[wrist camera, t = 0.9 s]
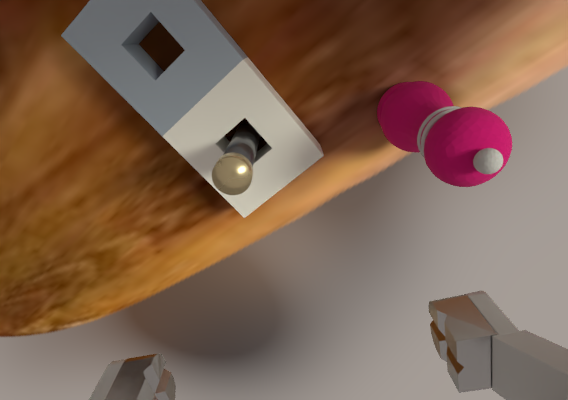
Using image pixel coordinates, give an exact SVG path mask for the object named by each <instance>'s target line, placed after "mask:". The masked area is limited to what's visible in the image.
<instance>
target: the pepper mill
mask: <svg viewBox="0 0 568 400" xmlns="http://www.w3.org/2000/svg"><path fill="white" fill-rule="evenodd" d="M377 117H378V121H379V124H380V126H381V127H382V130H383V133H384V135H385V137H386V138H387V139H388V141H389V142H390V143H391V144H393V145H394V146H396V147H398V148H399V149H402V150H404V151H408V152H421V154H422V156H423V157H424V158H425V161H426V164H427V166H428V167H429V169H430V170H431V172H432V173H433V174H434V175H435V176H436V177H437V178H439V179H440V180H442V181H444V182H446V183H448V184H451V185H454V186H459V187H470V186H476V185H479V184H482V183H484V182H486V181H488V180H490V179H492V178H493V177H494V176H496V175H497V174H498V173H499V172H500V171H501V170H502V169H503V167H504V166H505V165H506V163H507V161H508V158H509V156H510V153H511V150H512V138H511V134H510V132H509V129H508V127H507V126H506V124H505V123H504V121H503V120H502V119H501V118H500V117H498V116H497V115H496V114H494V113H492V112H491V111H488V110H485V109H482V108H478V107H465V108H461V107H457V106H453V103H452V101H451V99H450V97H449V96H448V95H447V93H446V92H445V91H444V90H442V89H441V88H440V87H438V86H437V85H434V84H432V83H429V82H424V81H417V82H403V83H399V84H396V85H394V86H393V87H391V88H390V89H388V90H387V91H386V92H385V94H384V95H383V96H382V98H381V99H380V101H379V104H378V108H377Z"/></svg>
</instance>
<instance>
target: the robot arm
mask: <svg viewBox="0 0 568 400" xmlns="http://www.w3.org/2000/svg"><path fill="white" fill-rule="evenodd" d="M429 313H430V315H431V317H432V318H433V321H432V322H431V324H430V327H431V334H432V338H433V342H434V344H435V347H436V350H437V352H438V354H439V356H440V358H441V359H443V360H445V361H446V362H447V367H448V373H449V375H450V377H451V378H452V380H453V382H454V384H455V386H456V388H457V389H458V391H459V392H467V391H474V390H481V389H489V388H492V390H493V391H495V392H496V393H498V394H499V395H500V396H502V397H503V398H504V399H506V400H568V349H566V348H564V347H562V346H559V345H557V344H555V343H553V342H550V341H548V340H546V339H544V338H542V337H539V336H537V335H535V334H533V333H530V332H528V331H526V330H523V331H519V330H518V329H517V328H516V327H515V325H514V324H513V323H512V322H511V321H510V320H509V318H508V317H507V316H506V315H505V314H504V313H503V312H502V310H501V309H500V308H499V307H498V306H497V305H496V304H495V302H494V301H493V300H492V299H491V298H490V297H489V295H488V294H487V293H486V292H484V291H478V292H473V293H468V294H464V295H459V296H455V297H450V298H445V299H440V300H435V301H430V302H429ZM165 363H166V361H165V360H164V358H163V356H162V354H153V355H147V356H141V357H135V358H129V359H126V360H119V361H113V362H111V363H110V364H109V365H108V366H107V368H106V370H105V371H104V373H103V375H102V377H101V379H100V380H99V382H98V384H97V386H96V388H95V390H94V392H93V393H92V395H91V397H90V399H89V400H175V389H176V386H175V382H174V378H173V376H172V374H171V372H169V371H167V370H165V369H164V366H165Z"/></svg>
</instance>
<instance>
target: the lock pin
mask: <svg viewBox="0 0 568 400" xmlns="http://www.w3.org/2000/svg"><path fill="white" fill-rule="evenodd" d="M259 141H260V134H259V133H258V132H257V131H256V130H255V128H254V127H253V126H252V125H251V124H249V123H246V124H242V125H241V126H239V127H238V129H237V130H236V132H235V134H234V136H233V138H232V140H231V141H230V143H229V145H228V147H227V149H226V151H225V153H224V154H223V156H221V157H220V158H219V159H218V161H217V162H216V164H215V166H214V168H213V170H212V181H213V183H214V185H215V187H216V188H217V189H218V190H219V191H221V192H222V193H224V194H227V195H239V194H241V193H243V192H245V191H246V190H247V189H248V188H249V186H250V184H251V181H252V177H253V164H254V160H255V156H256V152H257V148H258V145H259Z"/></svg>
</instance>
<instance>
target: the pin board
mask: <svg viewBox="0 0 568 400" xmlns="http://www.w3.org/2000/svg"><path fill="white" fill-rule="evenodd" d="M158 22H160V23H161V24H162V25H163V26H164V27H165V28H166V29H167V31H168V32H169V33H170V34H171V35H172V36H173V37H174V38H175V40H176V41H177V42H178V43H179V44H180V45H181V46H182V47H183V49H184V50H185V51H184V52H183V53H182V54H181V55H180V56H179V57H178V58H177V59H176V60H175V61H174V62H173V63H172V64H171V65H170V66H169V67H168V68H167V69H166V70H165V71H163V70H162V69H161V68H160V67H159V66H158V64H157V63H156V62H155V61H154V60H153V59H152V58H151V57H150V56H149V55H148V54H147V53H146V52H145V50H144V49H143V48H142V47H141V46H140V45H139V43H140V42H141V41H142V40H143V39H144V38H145V36H146V35H147V34H148V33H149V32H150V31H151V30H152V29H153V28H154V27H155V26H156V24H157V23H158ZM61 36H62V37H63V38H64V39H65V40H66V41H67V42H68V43H69V44H70V45H71V46H72V47H73V48H74V49H75V50H76V51H77V52H78V53H79V54H80V55H81V56H82V57H83V58H84V59H85V60H86V61H87V62H88V63H89V64H90V65H91V66H92V67H93V68H94V69H95V70H96V71H97V72H98V73H99V74H100V75H101V76H102V77H103V78H104V79H105V80H106V81H107V82H108V83H109V84H110V85H111V86H112V87H113V88H114V89H115V90H116V91H117V92H118V93H119V94H120V95H121V96H122V97H123V98H124V99H125V100H126V101H127V102H128V103H129V104H130V105H131V106H132V107H133V108H134V109H135V110H136V111H137V112H138V113H139V114H140V115H141V116H142V117H143V118H144V119H145V120H146V121H147V122H148V123H149V124H150V125H151V126H152V127H153V128H154V129H155V130H156V131H157V132H158V133H159V134H160V135H161V136H162V137H163V138H164V139H165V140H166V141H167V142H168V143H169V144H170V145H171V146H172V147H173V148H174V149H175V150H176V151H177V152H178V153H179V154H180V155H181V156H182V157H183V158H184V159H185V160H186V161H187V162H188V163H189V164H190V165H191V166H193V167H194V168H195V169H196V170H197V171H198V172H199V173H200V174H201V175H202V176H203V177H204V178H205V179H206V180H207V181H208V182H209V183H210V184H211V185H212V186H213V187H214V188H215V189H216V190H217V191H218V192H219V193H220V194H221V195H222V196H223V197H224V198H225V199H226V200H227V201H228V202H229V203H230V204H231V205H232V206H233V207H234V208H235V209H236V210H237V211H238V212H239V213H240V214H241V215H242V216H243V217H244V218H245V217H246V216H247V215H249V214H250V213H251V212H253V211H254V210H255V209H256V208H258V207H259V206H260V205H262V204H263V203H264V202H265V201H267V200H268V199H269V198H270V197H272V196H273V195H274V194H276V193H277V192H278V191H279V190H281V189H282V188H283V187H284V186H286V185H287V184H288V183H290V182H291V181H292V180H293V179H295V178H296V177H297V176H298V175H300V174H301V173H302V172H304V171H305V170H306V169H307V168H309V167H310V166H311V165H313V164H314V163H315V162H316V161H318V160H319V159H320V158H321V157H323V156H324V155H323V152H322V149H321V145H320V144H319V143H318V141H317V140H316V139H315V138H314V136H313V135H312V134H311V133H310V132H309V130H308V129H307V128H306V127H305V126H304V124H303V123H302V122H301V121H300V120H299V118H298V117H297V116H296V115H295V114H294V112H293V111H292V110H291V109H290V107H289V106H288V105H287V104H286V103H285V101H284V100H283V99H282V98H281V97H280V95H279V94H278V93H277V92H276V91H275V89H274V88H273V87H272V86H271V85H270V83H269V82H268V81H267V80H266V78H265V77H264V76H263V75H262V74H261V72H260V71H259V70H258V69H257V68H256V66H255V65H254V64H253V63H252V62H251V60H250V59H249V58H248V57H247V56H246V54H245V53H244V52H243V51H242V49H241V48H240V47H239V46H238V45H237V43H236V42H235V41H234V40H233V39H232V37H231V36H230V35H229V34H228V33H227V31H226V30H225V29H224V28H223V27H222V25H221V24H220V23H219V22H218V20H217V19H216V18H215V17H214V16H213V14H212V13H211V12H210V11H209V10H208V8H207V7H206V6H205V5H204V4H203V2H202V1H201V0H90V1H89V2H88V3H87V5H86V6H85V7H84V8H83V9H82V11H81V12H80V13H79V14H78V15H77V17H76V18H75V19H74V20H73V21H72V23H71V24H70V25H69V26H68V28H67V29H66V30H65V31H64V32H63V34H62V35H61ZM244 118H246V119H247V121H248V122H249V123H250V124H251V125H252V126H253V127H254V128H255V130H256V131H257V132H258V133H259V134H260V135H261V136H262V137H263V139H264V140H265V141H266V142H267V144H266V145H265V146H263V147H262V148H261V149H260V150H259V151H257V152H256V156H255V160H254V164H253V177H252V181H251V184H250V186H249V188H248V189H247V190H246V191H245V192H243V193H241V194H239V195H227V194H224V193H222V192H221V191H219V190H218V189H217V188H216V187H215V185H214V183H213V181H212V170H213V168H214V166H215V164H216V162H217V161H218V159H219V158H220V157H221V156H223V154H224V153H225V151H226V149H227V147H228V145H229V143H230V142H229V141H228V140H227V138H226V137H225V135H226V134H227V133H228V132H229V131H230V130H231V129H233V128H234V127H235V126H236V125H237V124H238V123H239V122H240V121H242V120H243V119H244Z"/></svg>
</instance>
